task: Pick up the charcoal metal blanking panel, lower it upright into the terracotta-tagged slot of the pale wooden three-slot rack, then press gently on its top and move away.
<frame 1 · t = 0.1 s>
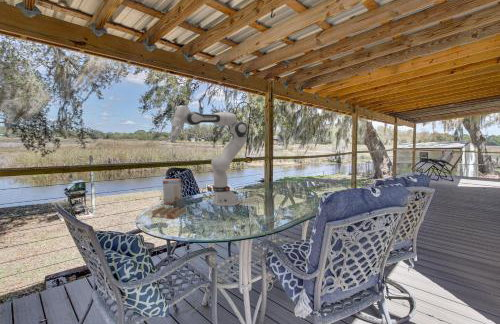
hand: (172, 142, 215), 52 cm above the table, tool tilted 20°, fingers open, 8 cm apart
cracker box: (173, 203, 237), on the table
blanking panel: (179, 208, 222), on the table
rack: (169, 214, 204), on the table
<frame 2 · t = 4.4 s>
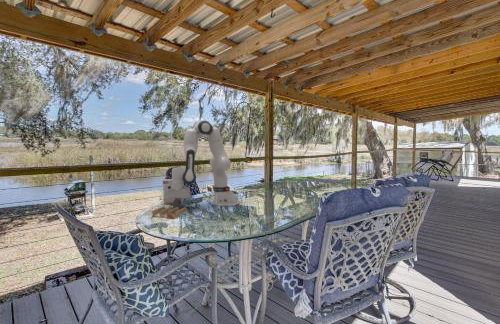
hand: (178, 203, 221), 4 cm above the table, tool pointing down, fingers closed on blanking panel, 3 cm apart
blanking panel: (179, 208, 222), on the table, touching gripper
everything else where it was.
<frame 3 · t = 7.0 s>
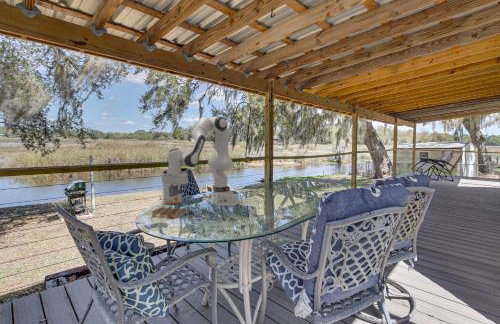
hand: (175, 190, 204), 18 cm above the table, tool pointing down, fingers closed on blanking panel, 3 cm apart
blanking panel: (175, 194, 204), point 14 cm above the table, touching gripper
everything else where it was.
when the fingers open (6 cm above the table, at t = 9.7 s): blanking panel stays where it is, resting on rack.
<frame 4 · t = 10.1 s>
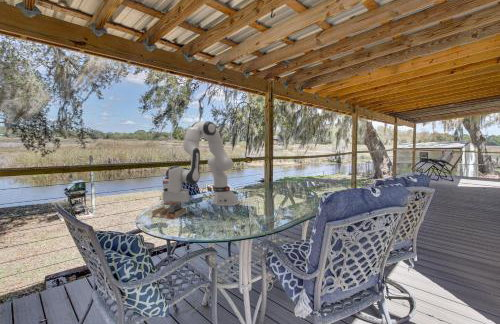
hand: (176, 207, 201), 6 cm above the table, tool pointing down, fingers open, 7 cm apart
blanking panel: (176, 213, 202), point 1 cm above the table, touching rack
everything else where it was.
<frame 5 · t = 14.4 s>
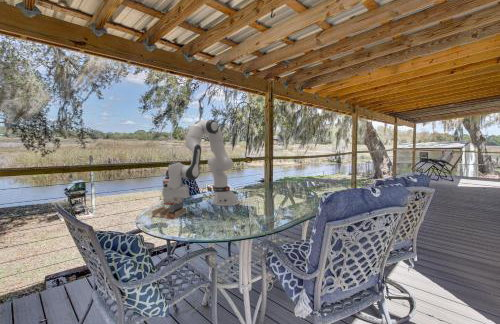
hand: (176, 203, 201), 9 cm above the table, tool pointing down, fingers closed
nothing on the table moved.
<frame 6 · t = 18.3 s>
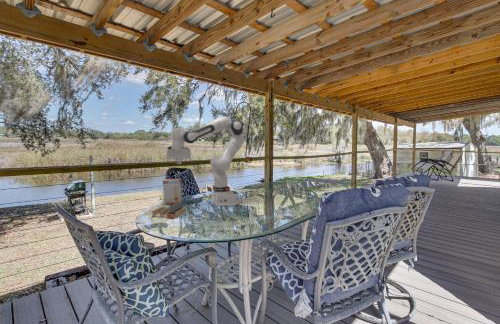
hand: (179, 164, 227), 34 cm above the table, tool pointing down, fingers closed
nothing on the table moved.
at the end: blanking panel 0.0 cm from the target spot on the rack, point 1.1 cm above the rack's base; blanking panel tilted 0°; the gripper is holding nothing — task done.
